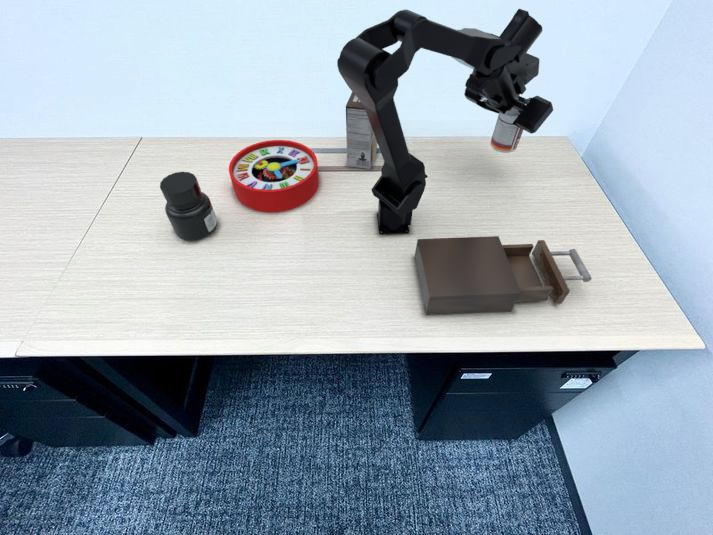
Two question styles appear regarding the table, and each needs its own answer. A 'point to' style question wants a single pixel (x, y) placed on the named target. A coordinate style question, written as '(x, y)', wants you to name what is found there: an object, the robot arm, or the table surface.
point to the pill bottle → (506, 132)
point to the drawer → (542, 271)
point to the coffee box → (359, 135)
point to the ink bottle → (188, 207)
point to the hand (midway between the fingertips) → (515, 118)
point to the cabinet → (465, 276)
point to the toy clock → (274, 175)
